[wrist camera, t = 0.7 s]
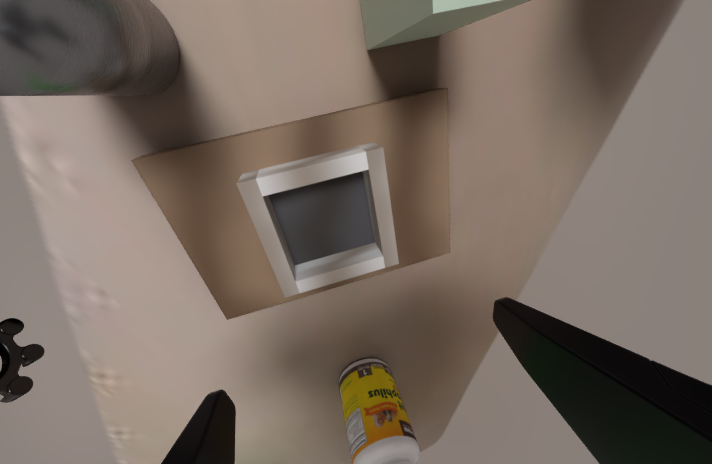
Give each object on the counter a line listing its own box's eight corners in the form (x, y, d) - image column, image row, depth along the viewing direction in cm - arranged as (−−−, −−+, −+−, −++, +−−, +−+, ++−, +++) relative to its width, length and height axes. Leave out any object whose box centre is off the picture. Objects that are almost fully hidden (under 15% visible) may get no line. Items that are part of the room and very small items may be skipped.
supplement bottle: (398, 361, 29) (448, 481, 20) (369, 394, 30) (403, 519, 21) (356, 349, 26) (392, 479, 17) (327, 385, 28) (346, 522, 19)
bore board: (437, 88, 17) (467, 87, 14) (442, 245, 23) (464, 266, 20) (142, 155, 15) (109, 169, 12) (230, 308, 21) (221, 341, 18)
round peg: (74, -47, 11) (-264, -270, 4) (190, 23, 13) (82, -57, 6) (59, 62, 13) (-217, 23, 6) (167, 111, 14) (55, 128, 8)
